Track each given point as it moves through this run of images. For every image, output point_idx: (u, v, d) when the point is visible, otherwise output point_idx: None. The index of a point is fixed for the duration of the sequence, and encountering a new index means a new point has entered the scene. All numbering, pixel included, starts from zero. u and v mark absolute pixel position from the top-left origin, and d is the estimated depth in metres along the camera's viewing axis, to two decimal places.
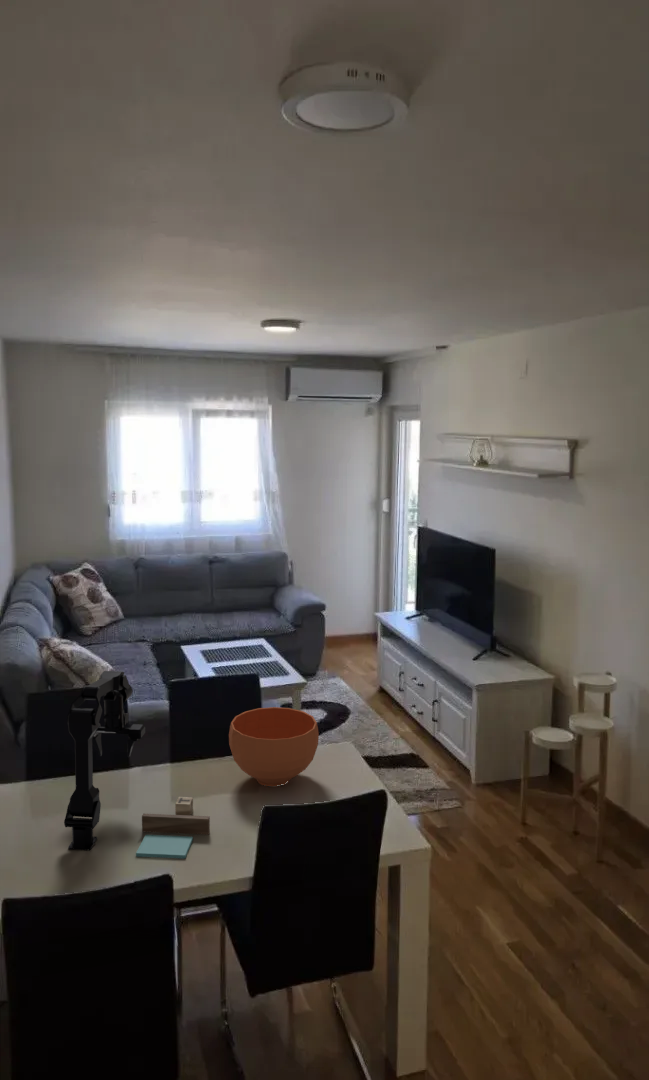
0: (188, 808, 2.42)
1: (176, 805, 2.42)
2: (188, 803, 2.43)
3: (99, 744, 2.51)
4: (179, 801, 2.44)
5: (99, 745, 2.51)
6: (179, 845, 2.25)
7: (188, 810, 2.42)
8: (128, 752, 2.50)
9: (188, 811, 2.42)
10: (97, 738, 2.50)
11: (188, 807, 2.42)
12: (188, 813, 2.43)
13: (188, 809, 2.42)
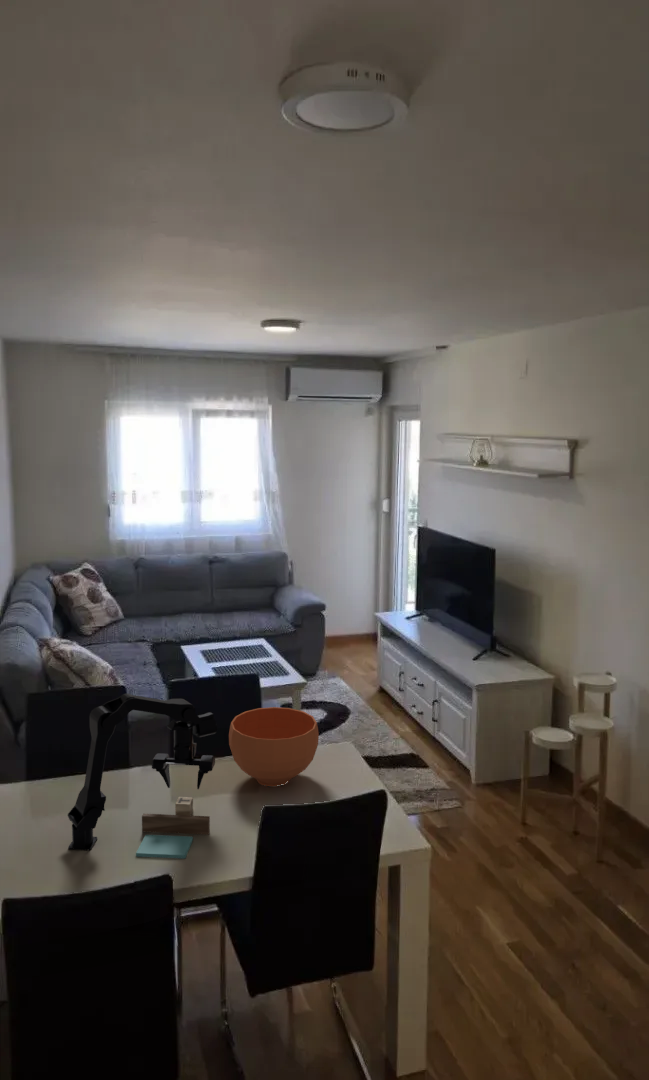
0: (188, 808, 2.42)
1: (176, 805, 2.42)
2: (188, 803, 2.43)
3: (168, 776, 2.43)
4: (179, 801, 2.44)
5: (167, 777, 2.42)
6: (179, 845, 2.25)
7: (188, 810, 2.42)
8: (198, 784, 2.42)
9: (188, 811, 2.42)
10: (166, 770, 2.42)
11: (188, 807, 2.42)
12: (188, 813, 2.43)
13: (188, 809, 2.42)
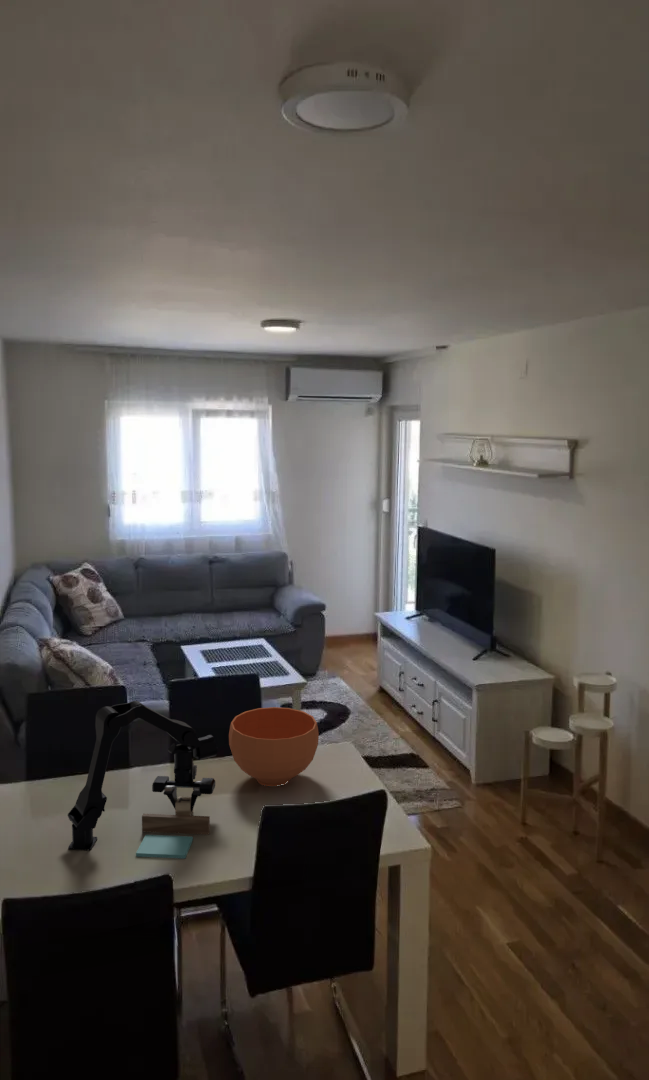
0: (188, 808, 2.42)
1: (176, 805, 2.42)
2: (188, 803, 2.43)
3: (175, 799, 2.44)
4: (179, 801, 2.44)
5: (175, 800, 2.44)
6: (179, 845, 2.25)
7: (188, 810, 2.42)
8: (191, 807, 2.43)
9: (188, 811, 2.42)
10: (173, 793, 2.43)
11: (188, 807, 2.42)
12: (188, 813, 2.43)
13: (188, 808, 2.42)
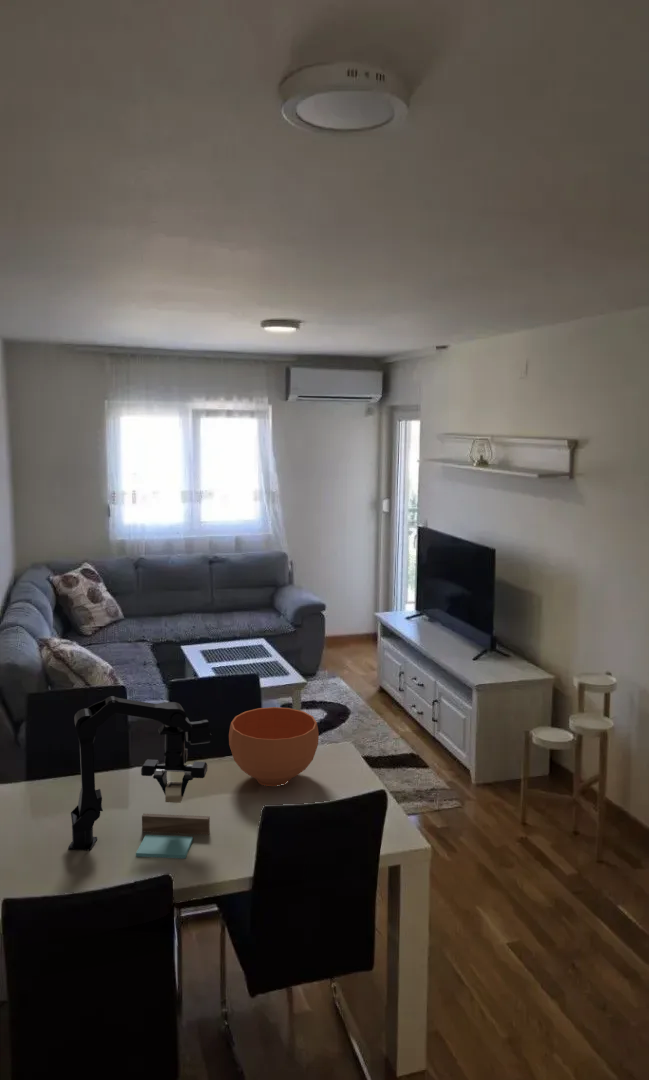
0: (179, 792, 2.32)
1: (166, 789, 2.32)
2: (179, 787, 2.32)
3: (165, 783, 2.33)
4: (169, 785, 2.33)
5: (165, 784, 2.33)
6: (179, 845, 2.25)
7: (179, 794, 2.32)
8: (182, 791, 2.33)
9: (179, 796, 2.32)
10: (163, 777, 2.32)
11: (179, 791, 2.32)
12: (179, 798, 2.32)
13: (179, 793, 2.32)
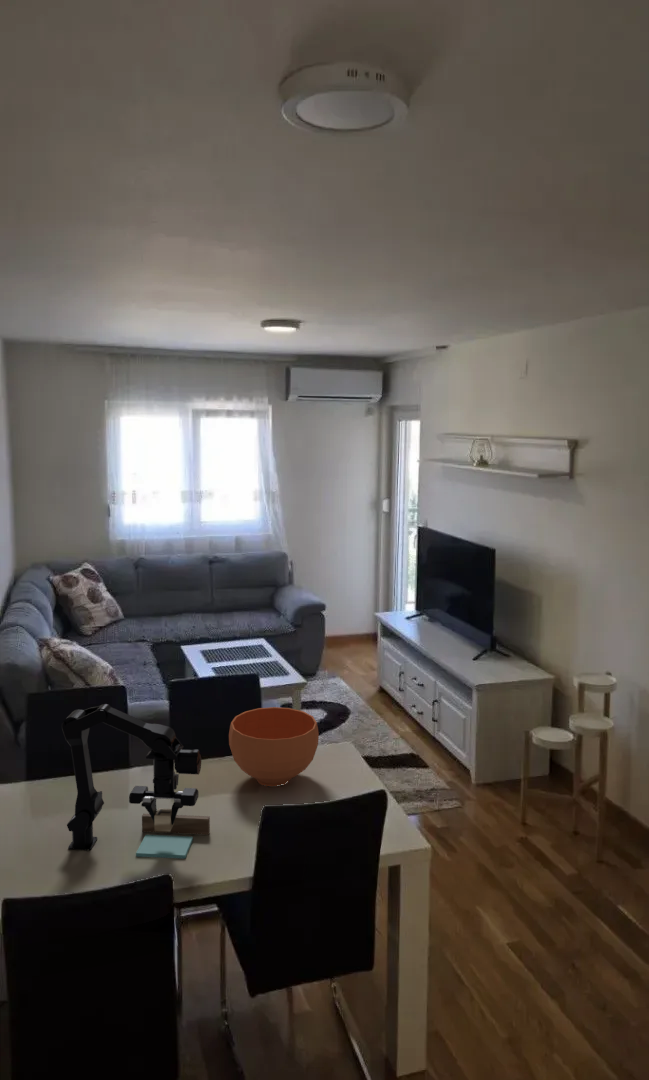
0: (168, 821, 2.22)
1: (155, 817, 2.22)
2: (168, 815, 2.22)
3: (154, 811, 2.23)
4: (159, 813, 2.23)
5: (154, 812, 2.23)
6: (179, 845, 2.25)
7: (168, 823, 2.22)
8: (172, 820, 2.23)
9: (168, 824, 2.22)
10: (152, 804, 2.22)
11: (168, 820, 2.22)
12: (168, 826, 2.22)
13: (168, 821, 2.22)
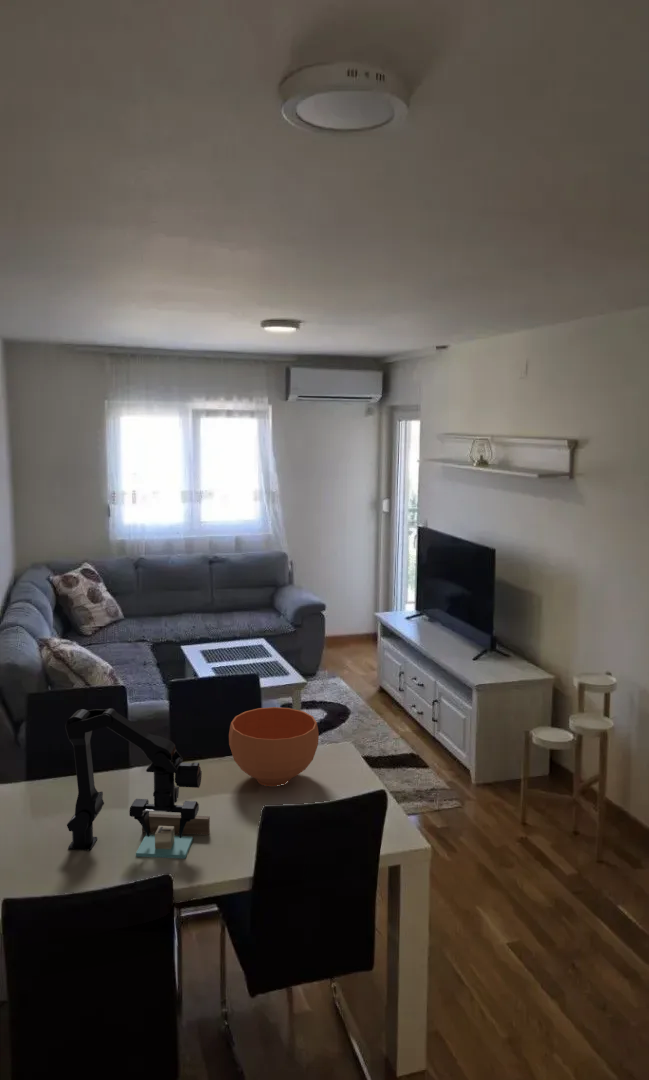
0: (169, 838, 2.22)
1: (156, 835, 2.23)
2: (169, 833, 2.23)
3: (147, 823, 2.24)
4: (159, 831, 2.24)
5: (147, 825, 2.24)
6: (179, 845, 2.25)
7: (169, 841, 2.23)
8: (180, 833, 2.23)
9: (169, 842, 2.23)
10: (145, 817, 2.23)
11: (169, 837, 2.22)
12: (169, 844, 2.23)
13: (169, 839, 2.22)
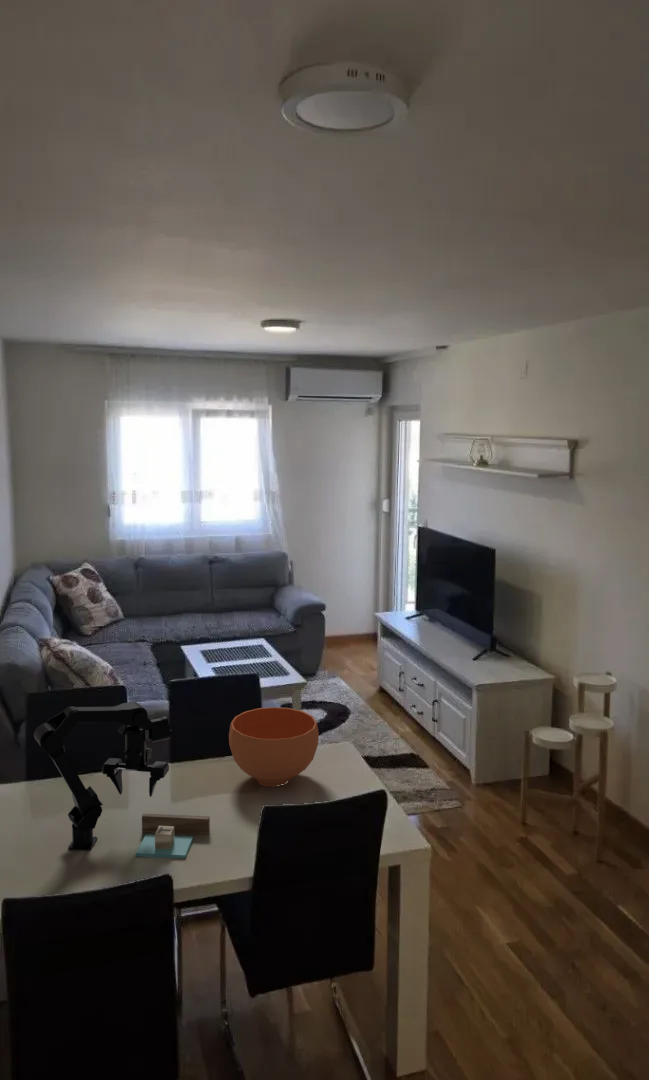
0: (169, 838, 2.22)
1: (156, 835, 2.23)
2: (169, 833, 2.23)
3: (119, 782, 2.33)
4: (159, 831, 2.24)
5: (119, 783, 2.33)
6: (179, 845, 2.25)
7: (169, 841, 2.23)
8: (150, 792, 2.32)
9: (169, 842, 2.23)
10: (117, 775, 2.32)
11: (169, 837, 2.22)
12: (169, 844, 2.23)
13: (169, 839, 2.22)
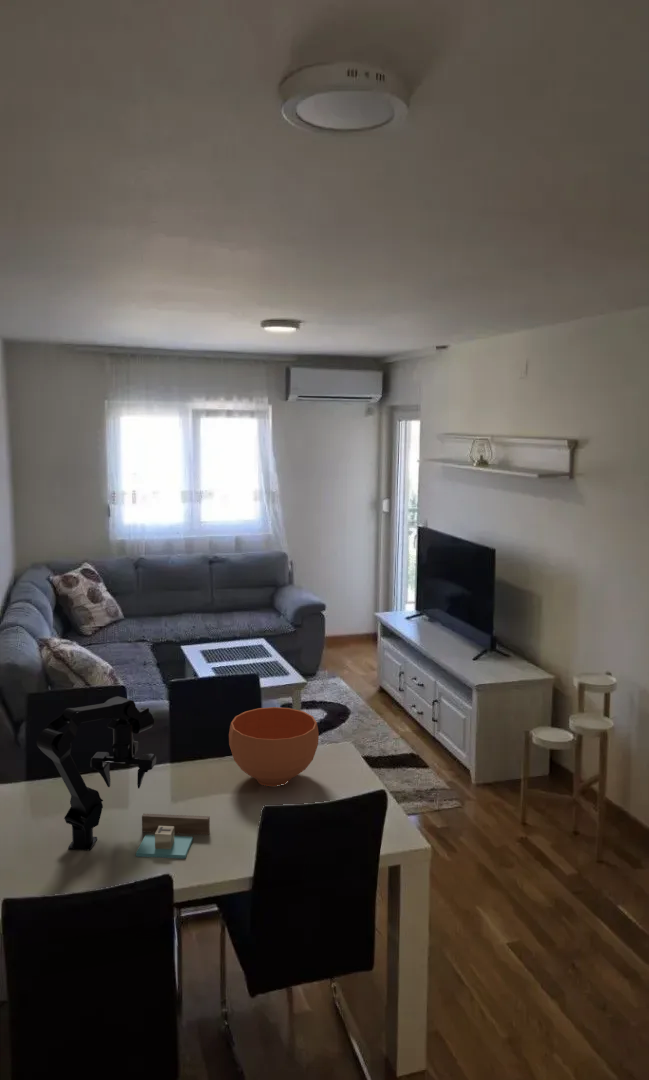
0: (169, 838, 2.22)
1: (156, 835, 2.23)
2: (169, 833, 2.23)
3: (107, 775, 2.37)
4: (159, 831, 2.24)
5: (107, 776, 2.37)
6: (179, 845, 2.25)
7: (169, 841, 2.23)
8: (138, 783, 2.37)
9: (169, 842, 2.23)
10: (105, 769, 2.36)
11: (169, 837, 2.22)
12: (169, 844, 2.23)
13: (169, 839, 2.22)
